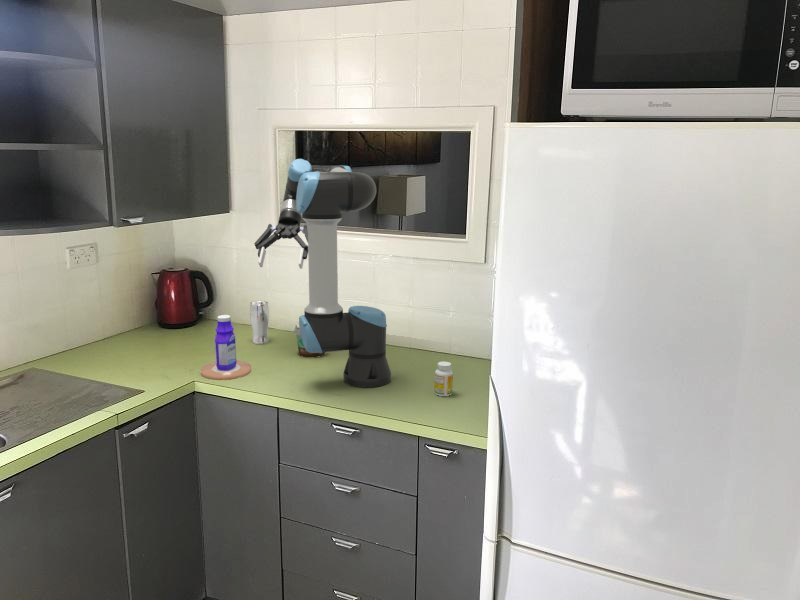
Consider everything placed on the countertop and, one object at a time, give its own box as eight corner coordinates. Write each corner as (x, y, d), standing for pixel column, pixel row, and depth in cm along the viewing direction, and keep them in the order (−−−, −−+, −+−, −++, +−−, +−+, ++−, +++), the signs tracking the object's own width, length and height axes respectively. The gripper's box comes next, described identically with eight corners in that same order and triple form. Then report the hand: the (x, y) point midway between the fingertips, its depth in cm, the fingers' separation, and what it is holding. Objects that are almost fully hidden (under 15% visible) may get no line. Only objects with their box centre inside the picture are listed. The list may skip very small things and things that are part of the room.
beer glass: (257, 345, 240) (255, 306, 236) (247, 341, 245) (245, 302, 241) (273, 342, 244) (272, 303, 241) (263, 337, 249) (262, 299, 246)
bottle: (229, 372, 209) (227, 319, 205) (213, 370, 210) (210, 318, 206) (239, 364, 216) (237, 313, 212) (223, 363, 217) (221, 312, 213)
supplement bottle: (436, 397, 194) (437, 366, 192) (432, 390, 199) (433, 361, 197) (454, 396, 195) (455, 366, 193) (449, 390, 200) (450, 360, 198)
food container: (289, 357, 228) (289, 329, 225) (295, 351, 234) (294, 324, 231) (323, 359, 226) (323, 332, 223) (328, 354, 231) (328, 327, 229)
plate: (261, 367, 217) (261, 364, 216) (229, 383, 203) (229, 379, 202) (223, 360, 223) (223, 357, 223) (189, 374, 209) (189, 371, 209)
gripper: (327, 223, 231) (318, 273, 220) (258, 221, 233) (246, 270, 222) (324, 209, 225) (315, 260, 214) (253, 207, 227) (240, 257, 216)
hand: (280, 265), depth 218 cm, fingers open, 13 cm apart
